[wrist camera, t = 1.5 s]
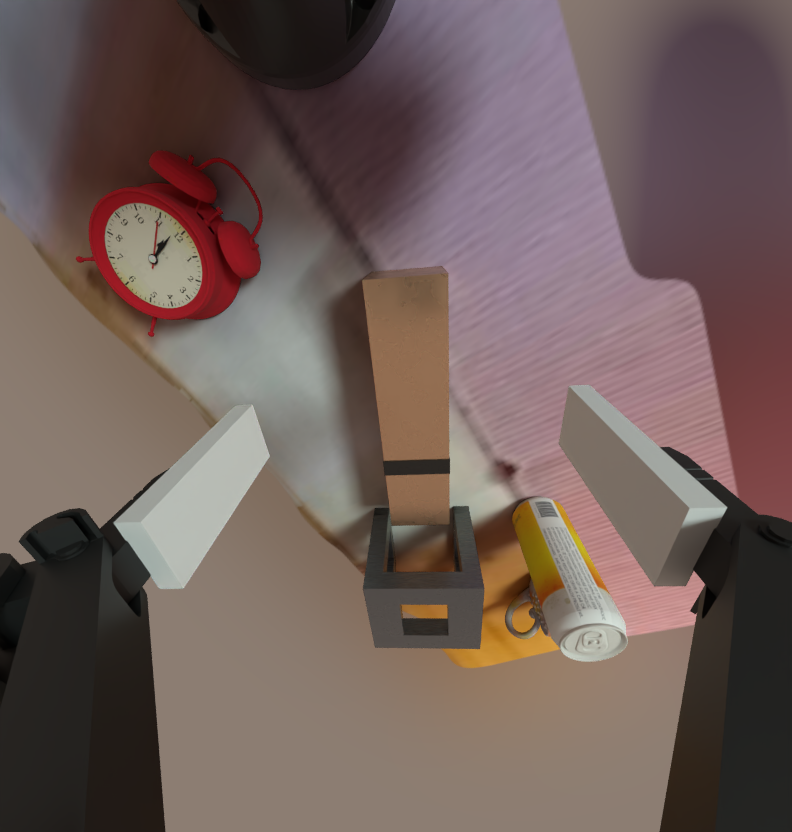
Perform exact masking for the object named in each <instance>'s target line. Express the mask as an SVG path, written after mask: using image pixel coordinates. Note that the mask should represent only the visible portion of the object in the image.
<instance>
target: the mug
mask: <svg viewBox="0 0 792 832" xmlns="http://www.w3.org/2000/svg"><path fill="white" fill-rule="evenodd" d="M528 601H529V602H531V604H532V605H533V608H532V609H530V610H529V615H530V616H531V617H532V618H534V619H535V622H534V625H533V626H532V628H531V629H530V630H528V631H527V632H523V633H521V632H518V631H516V630H515V629H514V627H513V625H512V615H513V613H514V611H515V610H516V608H517V607H518V606H520V605H521V604H523V603H524V602H528ZM505 623H506V626H507V629H508V630H509V632H510V633H511V634H513V635H514V636H516V637H518V638H520V639H528V638H531V637H532V636H534V635H535V633H536V632H537V631H538V629H539V627H540V625H541V628H542V630H543V632H544V634H545V635H546V636H549V637H551V635H550V632H549V629H548V626H547V623H546V620H545V617H544V614H543V611H542V608H541V606H540V603H539V600H538V597H537V594H536V591H535V588H534V585H533V582H532V579H531V580H530V585H529V587H528V588H527V589H526V590H524V591H523V592H522V593H521V594H519V595H518V596H517V597H516V598H515V599H514V600H513V601H512V602H511V604H510V605H509V607H508V609H507V611H506V614H505Z"/></svg>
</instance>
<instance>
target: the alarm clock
mask: <svg viewBox="0 0 792 832" xmlns="http://www.w3.org/2000/svg"><path fill="white" fill-rule="evenodd" d="M193 160H194V157H193V156H192V155H189V158H188V160H185V159H183V158H182V157H180V156H178V155H176V154H174V153H171V152H168V151H159V150H158V151H156V152H154V153H153V154H152V155H151V157H150V160H149V164H150V166H151V167H152V168H153V169H154V170H155V171H156V172H157V173H158V174H159V175H161V176H162V177H163V178H164V179H166V180H167V181H169V182H170V183H171V184H173V185H170V184H164V183H150V184H146V185H142V186H140V187H127V188H121V189H118V190H115V191H113V192H111V193H109V194H107V195H105V196H104V197H103V198H102V199H100V201H99V202H98V203H97V204H96V206H95V208H94V210H93V212H92V214H91V217H90V222H89V241H90V246H91V250H92V254H93V257H90V258H82V257H80V256H78V257H76V260H77V261H78V262H80V263H81V262H83V261H95V262H96V264H97V266H98V268H99V270H100V272H101V274H102V275H103V277H104V278H105V280H106V281H107V283H108V284H109V285H110V286H111V288H112V289H113V290H114V291H115V292H116V293H117V294H118V295H119V296H120V297H121V298H122V299H123V300H124V301H126V302H127V303H128V304H130V305H131V306H133V307H134V308H136V309H137V310H139V311H141V312H143V313H145V314H148V315H150V316H153V317H152V324H151V330H150V332H148V335H149V336H151V337H153V336H154V333H153V330H154V327H155V324H156V320H157V318H162V319H169V320H180V319H185V318H187V319H205V318H209V317H212V316H215V315H217V314H219V313H221V312H223V311H224V310H225V309H226V308H228V307H229V305H230V304H231V303H232V302H233V300H234V299H235V297H236V295H237V293H238V290H239V287H240V282H241V278H244V279H248V278H252V277H254V276H256V275H257V273H258V272H259V271H260V265H261V261H260V255H259V251H258V248H259V245H258V244H256V243H255V241H254V239H253V238H254V237H255V236H256V234H257V233H258V231H259V229H260V227H261V224H262V219H263V215H262V208H261V205H260V201H259V199H258V197H257V195H256V193H255V191H254V190H253V188H252V187H251V185H250V183H249V182H248V180H247V179H246V178H245V177H244V176H243V174H242V173H241V172H240V171H239V170H238V169H237V168H236V167H235V166H234V165H233V164H232V163H230V162H229V161H227V160H225V159H222V158H212V159H210V160H208V161H206V162H204V163H203V164H201V165H200V166H198V167H196V166H194V165H193V164H192V163H193ZM216 162H221V163H224V164H226V165H228V166H229V167H231V168H232V169H233V170H234V171H235V172H236V173H237V174H238V175H239V176H240V177H241V178H242V180H243V181H244V182H245V184H246V185H247V186H248V188H249V190H250V191H251V193H252V195H253V196H254V199H255V201H256V203H257V206H258V211H259V221H258V224H257V226H256V228H255V230H254V232H253V233H252V235H251V234H250V233H249V231H248V230H247V229H246V228H245V227H244V226H243V225H242V224H240V223H238V222H235V221H225V222H224V220H223V219H222V218H221V217H220V215H222V214H223V211H222V210H221V209H220V207H217V208H216V210H217V212H216V211H215V210H214V209H213V207H212V206H210V205H209V204H208V203H213V204H214V201H215V199H216V195H217V191H216V188H215V186H214V184H213V182H212V181H211V180H210V179H209V178H208V177H207V176H206V175H205V174H204V173H203V172H202V171H201V170H202V169H204V168H205V167H207V166H208V165H210V164H212V163H216ZM219 214H220V215H219Z"/></svg>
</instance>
